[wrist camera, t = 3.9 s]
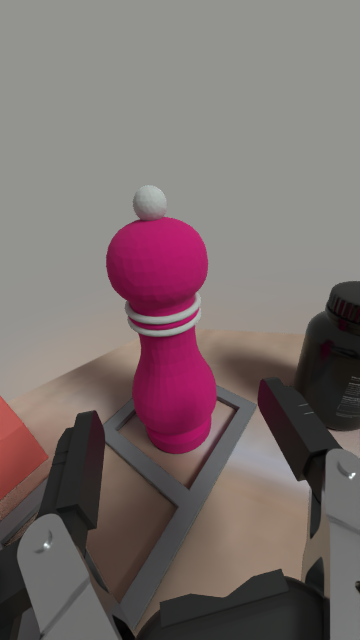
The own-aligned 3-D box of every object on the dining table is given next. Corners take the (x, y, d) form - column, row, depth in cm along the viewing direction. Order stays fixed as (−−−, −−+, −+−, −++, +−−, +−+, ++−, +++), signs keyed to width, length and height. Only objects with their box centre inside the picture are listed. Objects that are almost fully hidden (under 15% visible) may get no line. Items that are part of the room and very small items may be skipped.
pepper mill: (132, 409, 24) (67, 191, 13) (193, 382, 27) (179, 178, 16) (158, 477, 19) (83, 198, 8) (232, 435, 21) (252, 178, 10)
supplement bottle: (370, 391, 24) (430, 283, 17) (369, 449, 19) (448, 331, 13) (298, 367, 27) (324, 270, 21) (282, 411, 23) (310, 303, 16)
